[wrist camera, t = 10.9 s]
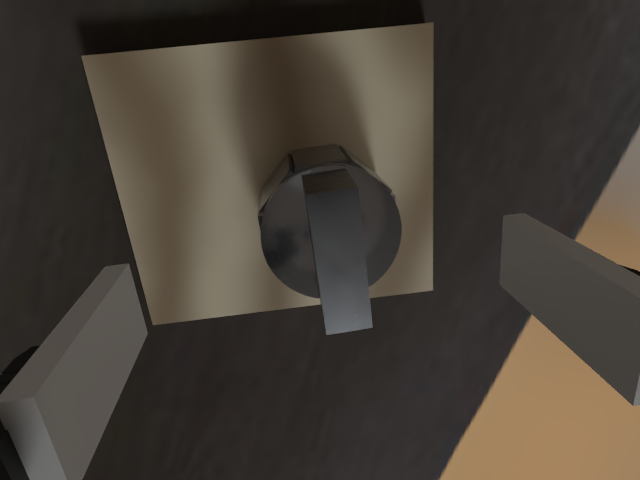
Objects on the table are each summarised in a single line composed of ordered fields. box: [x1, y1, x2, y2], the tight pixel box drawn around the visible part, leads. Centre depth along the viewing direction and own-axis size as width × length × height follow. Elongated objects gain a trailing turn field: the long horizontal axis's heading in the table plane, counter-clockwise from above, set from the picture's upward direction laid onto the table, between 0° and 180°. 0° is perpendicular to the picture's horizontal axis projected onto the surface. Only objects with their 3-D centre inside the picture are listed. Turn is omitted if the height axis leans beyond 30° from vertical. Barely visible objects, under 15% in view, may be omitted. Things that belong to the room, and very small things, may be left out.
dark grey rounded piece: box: [258, 144, 402, 335], centre depth 20 cm, size 6×6×8 cm
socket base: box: [81, 23, 433, 325], centre depth 22 cm, size 16×14×4 cm
